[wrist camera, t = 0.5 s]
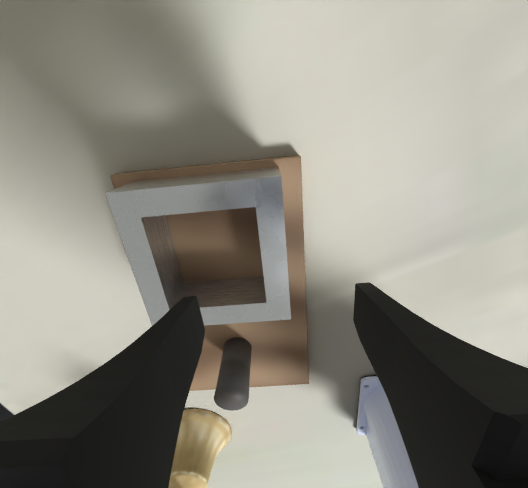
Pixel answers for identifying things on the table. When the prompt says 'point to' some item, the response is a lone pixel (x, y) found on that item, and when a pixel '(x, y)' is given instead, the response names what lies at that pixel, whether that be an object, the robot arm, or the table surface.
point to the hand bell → (198, 447)
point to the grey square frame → (164, 254)
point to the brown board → (239, 266)
